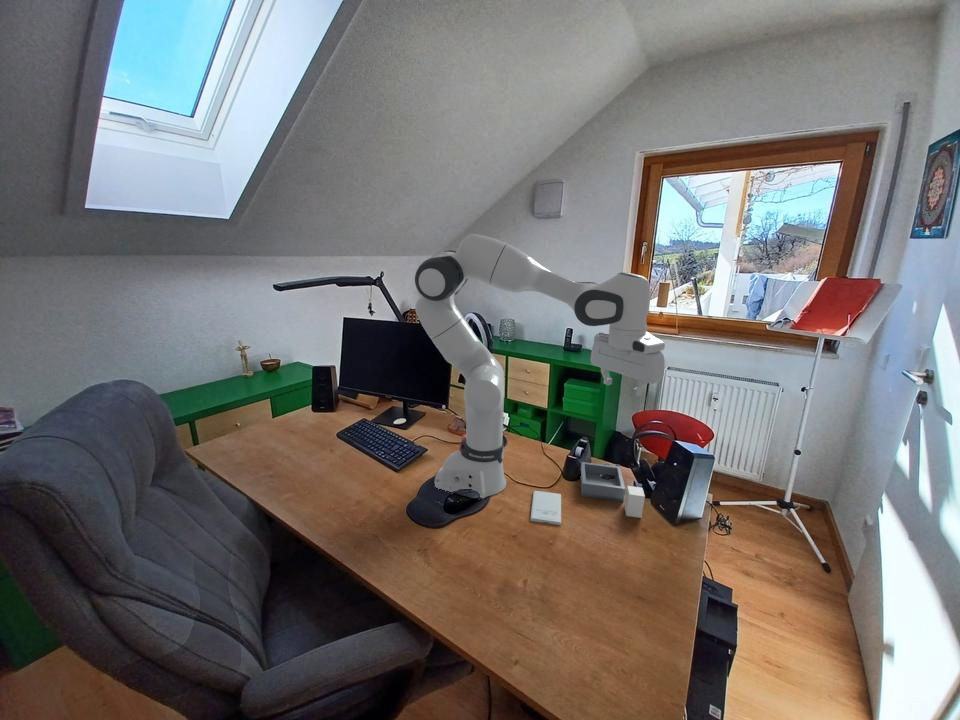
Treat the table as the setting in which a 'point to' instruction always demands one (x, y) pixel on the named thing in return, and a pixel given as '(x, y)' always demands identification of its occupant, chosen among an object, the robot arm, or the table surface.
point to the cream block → (634, 501)
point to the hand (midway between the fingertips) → (621, 389)
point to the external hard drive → (546, 507)
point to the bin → (602, 482)
